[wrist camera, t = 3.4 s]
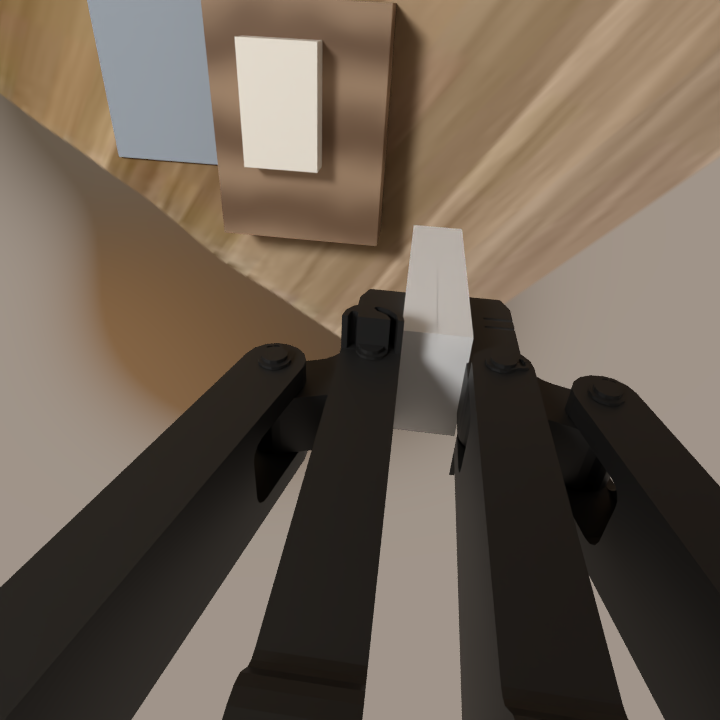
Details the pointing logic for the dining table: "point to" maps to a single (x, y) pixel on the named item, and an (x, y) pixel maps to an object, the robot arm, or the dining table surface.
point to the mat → (156, 78)
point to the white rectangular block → (280, 102)
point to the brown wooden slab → (339, 119)
